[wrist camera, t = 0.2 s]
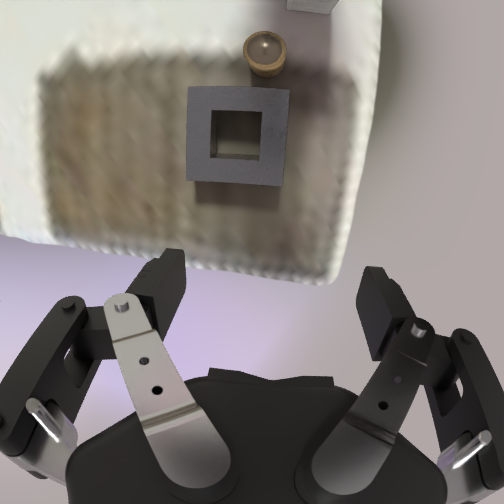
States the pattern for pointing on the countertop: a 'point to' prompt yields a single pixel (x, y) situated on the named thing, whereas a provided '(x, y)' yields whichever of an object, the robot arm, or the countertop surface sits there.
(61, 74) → the countertop surface
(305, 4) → the skincare box
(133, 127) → the countertop surface
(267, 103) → the collar
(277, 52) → the piston
